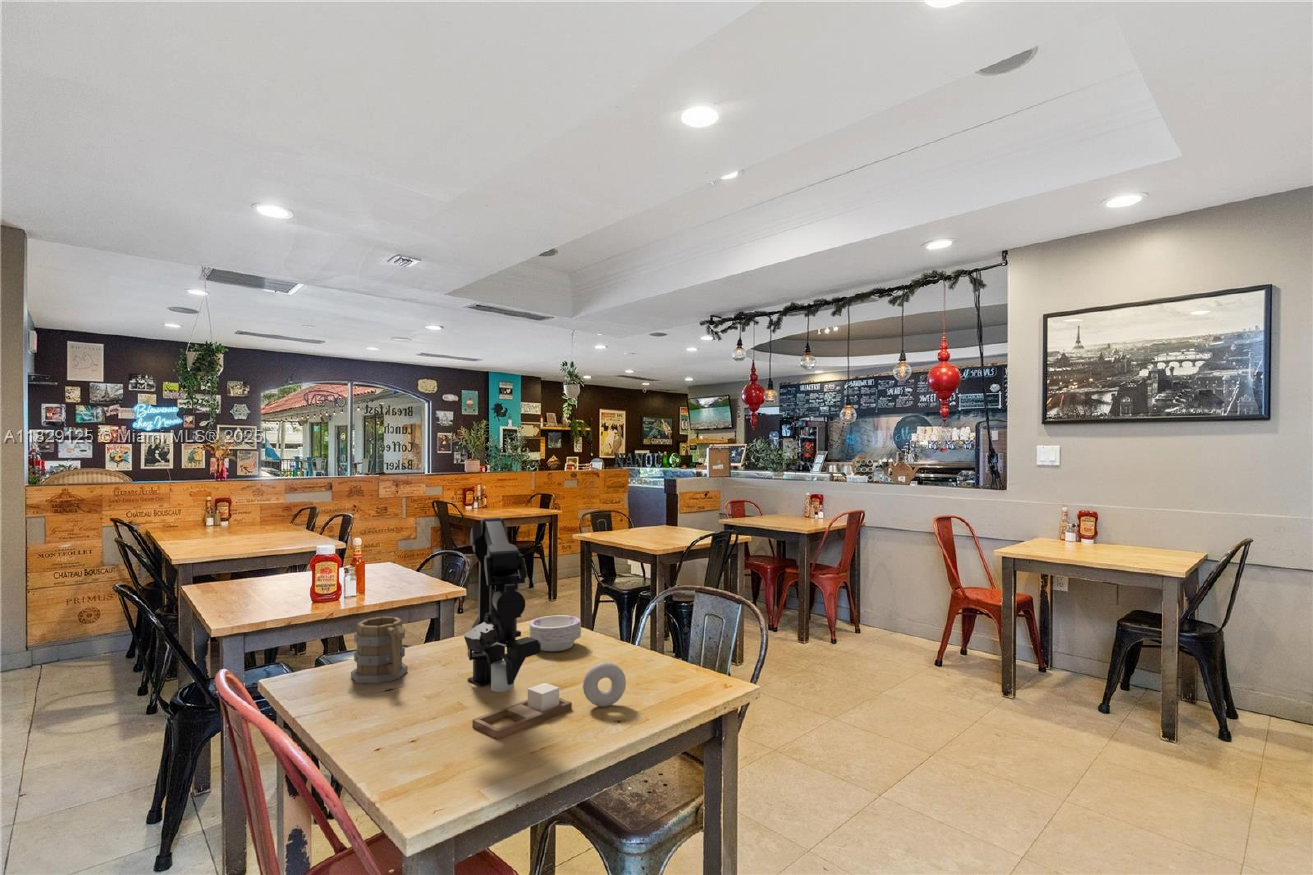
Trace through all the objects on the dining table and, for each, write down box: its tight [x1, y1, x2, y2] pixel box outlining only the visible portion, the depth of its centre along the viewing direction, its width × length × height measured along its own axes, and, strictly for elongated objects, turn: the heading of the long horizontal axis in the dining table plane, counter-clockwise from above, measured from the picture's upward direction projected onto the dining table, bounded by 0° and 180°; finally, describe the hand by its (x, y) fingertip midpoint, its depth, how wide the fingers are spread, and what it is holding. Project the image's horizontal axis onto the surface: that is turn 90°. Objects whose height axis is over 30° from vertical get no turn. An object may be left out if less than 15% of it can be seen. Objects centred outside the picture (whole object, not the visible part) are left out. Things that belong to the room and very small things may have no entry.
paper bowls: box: [528, 614, 582, 652], centre depth 193 cm, size 15×15×8 cm
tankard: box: [350, 616, 409, 685], centre depth 167 cm, size 20×13×15 cm, turn 42°
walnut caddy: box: [472, 697, 573, 740], centre depth 142 cm, size 9×20×2 cm, turn 139°
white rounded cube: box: [527, 682, 560, 712], centre depth 146 cm, size 5×5×5 cm
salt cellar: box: [490, 659, 515, 693], centre depth 138 cm, size 5×5×5 cm
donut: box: [582, 662, 627, 708], centre depth 149 cm, size 10×4×10 cm, turn 105°
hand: (502, 681), depth 138 cm, fingers closed on salt cellar, 5 cm apart
